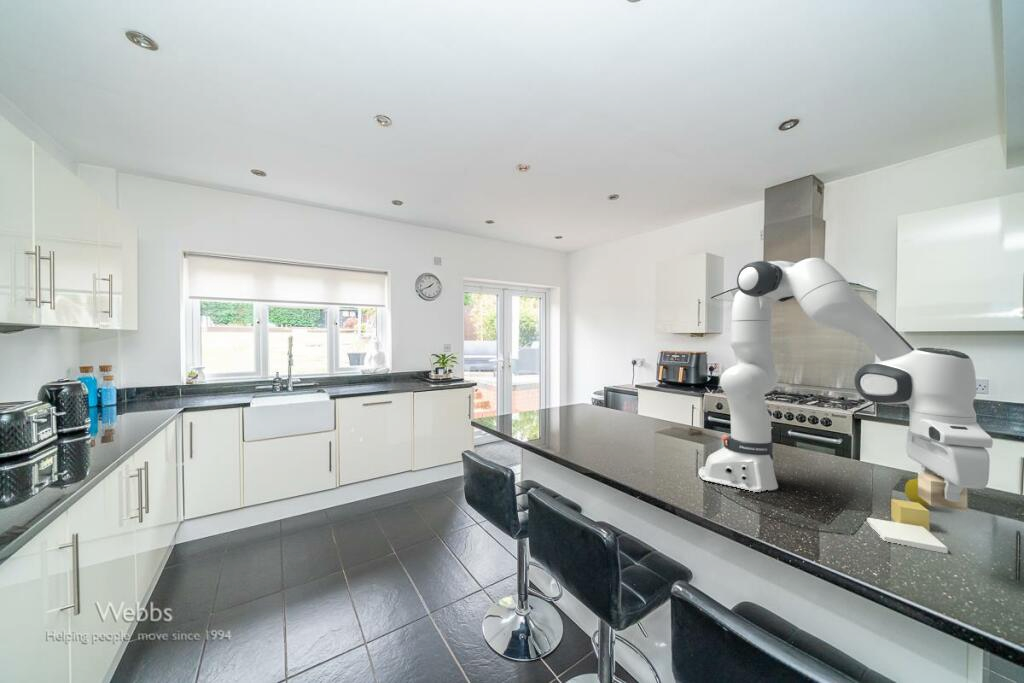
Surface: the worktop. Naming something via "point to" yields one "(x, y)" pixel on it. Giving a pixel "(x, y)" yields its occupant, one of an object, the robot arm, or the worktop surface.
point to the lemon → (914, 492)
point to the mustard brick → (910, 513)
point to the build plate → (907, 535)
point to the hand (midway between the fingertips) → (941, 493)
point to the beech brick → (938, 492)
